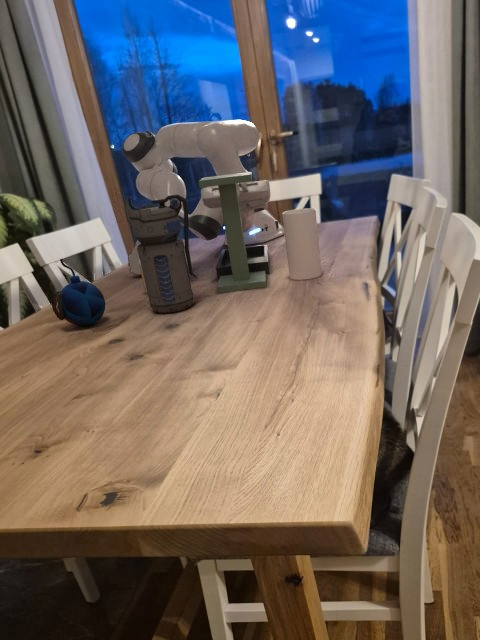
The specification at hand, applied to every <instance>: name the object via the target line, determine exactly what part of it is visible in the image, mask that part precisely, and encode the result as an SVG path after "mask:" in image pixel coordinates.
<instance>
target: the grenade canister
mask: <svg viewBox="0 0 480 640" xmlns="http://www.w3.org/2000/svg"><path fill="white" fill-rule="evenodd" d="M168 200H170V206H165V202H167V201H168ZM150 202H151V204H148V205H141V206H135V204H133V201H132V197H131V196H129V197H126V200H125V205H124V213H125V218H126V221H127V222H128V223H129V226H130V228H132V232H133V237H134V238H135V240H136V241H137V240H138V241H139V242H140V243H141V244H139V245H138V247H137V251H138V255H139V258H140V262H141V267H142V271H143V275H144V280H145V284H146V289H147V293H146V294H147V297H148V303H149V307H150V308H151V310H152V311H153V312H156V313H161V314H170V313H171V314H172V313H177V312H181V311H184V310H186V309H188V308H190V307H191V306H193V304H194V301H195V296H194V291H193V288H192V283H191V279H190V276H192V277H193V278H195V279H198V277H197V276H198V275H196V274H195V273H194V271H193V265H192V259H191V253H190V244H189V243H190V242H189V241H190V240H189V239H190V232H189V231H190V230H189V220H188V214H189V205H188V200H187V198H186V199H185V198H184V197H182V196H180V195H170V196H167V197H166V198H165V199H160V200H150ZM181 202H182V203H183V212H184V227H183V232H184V233H183V235H184V240H183V239H182V238H179V235H180V232H181V231H182V230H181V229H182V225H181V223H180V219H179V218H178V214H179V212H180V210H181V208H182V204H181ZM157 204H158V205H159V206H155V205H157Z"/></svg>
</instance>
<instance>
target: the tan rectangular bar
mask: <svg viewBox="0 0 480 640" xmlns="http://www.w3.org/2000/svg"><path fill="white" fill-rule="evenodd" d="M236 187H237V194H238V196H239V195H240V187H239V183H236Z"/></svg>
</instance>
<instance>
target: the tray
mask: <svg viewBox="0 0 480 640" xmlns="http://www.w3.org/2000/svg"><path fill="white" fill-rule="evenodd" d="M245 247H246V254H247V260H248V267H249V273H250V272H258V271H265V273H266V275H270V273H271V272H270V255H269V248H268V244H259V245H252V246H251V245H250V246H245ZM215 272H216V279H217V281H219V278H220V276H226V275H233V274H232V268H231V262H230V255H229V249H222V250H221V252H220V255H219V257H218V260H217V263H216V266H215Z"/></svg>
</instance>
